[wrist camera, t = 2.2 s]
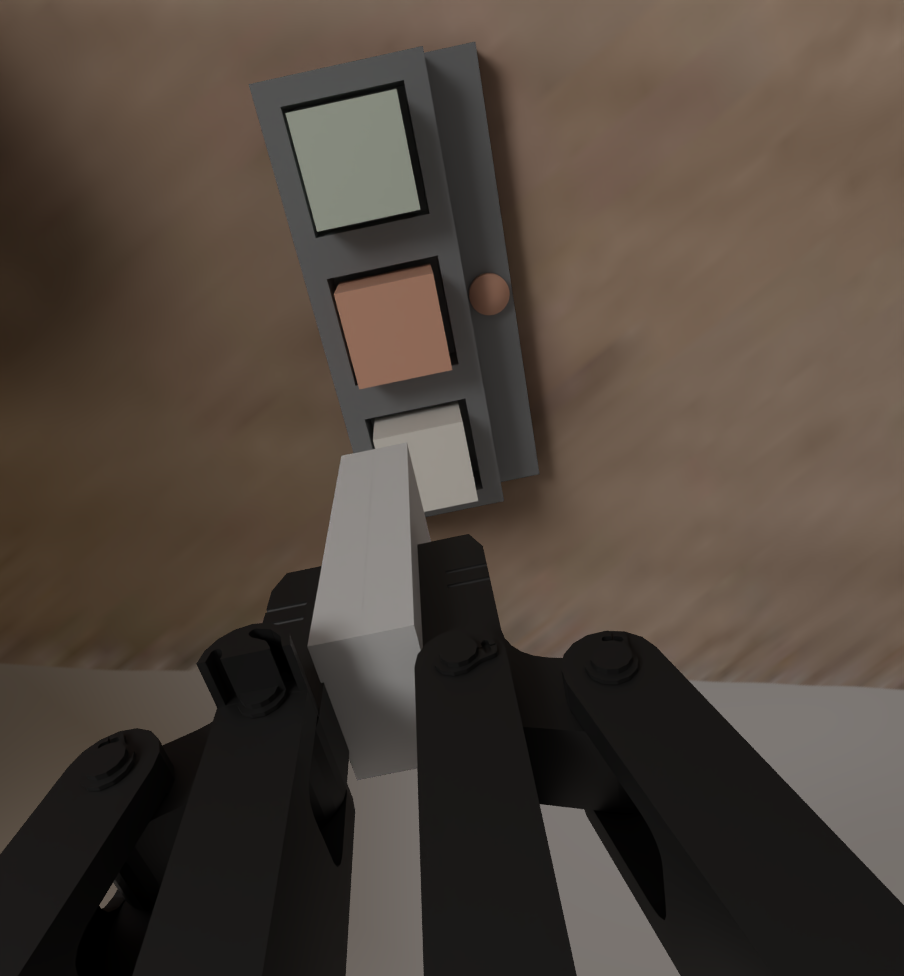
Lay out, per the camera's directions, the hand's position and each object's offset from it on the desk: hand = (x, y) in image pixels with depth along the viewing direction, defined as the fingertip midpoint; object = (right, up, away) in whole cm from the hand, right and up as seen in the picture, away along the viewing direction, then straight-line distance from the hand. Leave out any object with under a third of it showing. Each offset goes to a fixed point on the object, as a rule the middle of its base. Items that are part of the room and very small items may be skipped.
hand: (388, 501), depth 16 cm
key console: (0, +10, +20) cm, 22 cm away
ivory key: (0, +2, +20) cm, 21 cm away
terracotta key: (-1, +9, +17) cm, 19 cm away
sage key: (-3, +15, +14) cm, 21 cm away
